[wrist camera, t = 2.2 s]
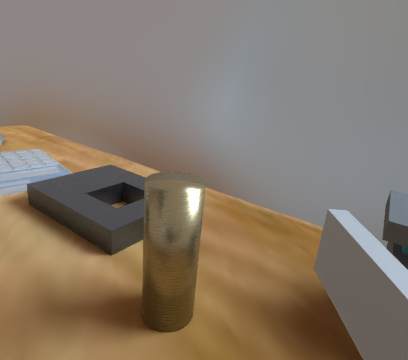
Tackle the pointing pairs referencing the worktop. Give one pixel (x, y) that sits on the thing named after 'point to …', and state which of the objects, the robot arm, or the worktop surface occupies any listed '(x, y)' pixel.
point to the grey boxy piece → (397, 226)
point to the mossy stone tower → (1, 139)
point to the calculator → (26, 170)
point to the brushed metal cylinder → (171, 248)
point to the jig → (95, 205)
